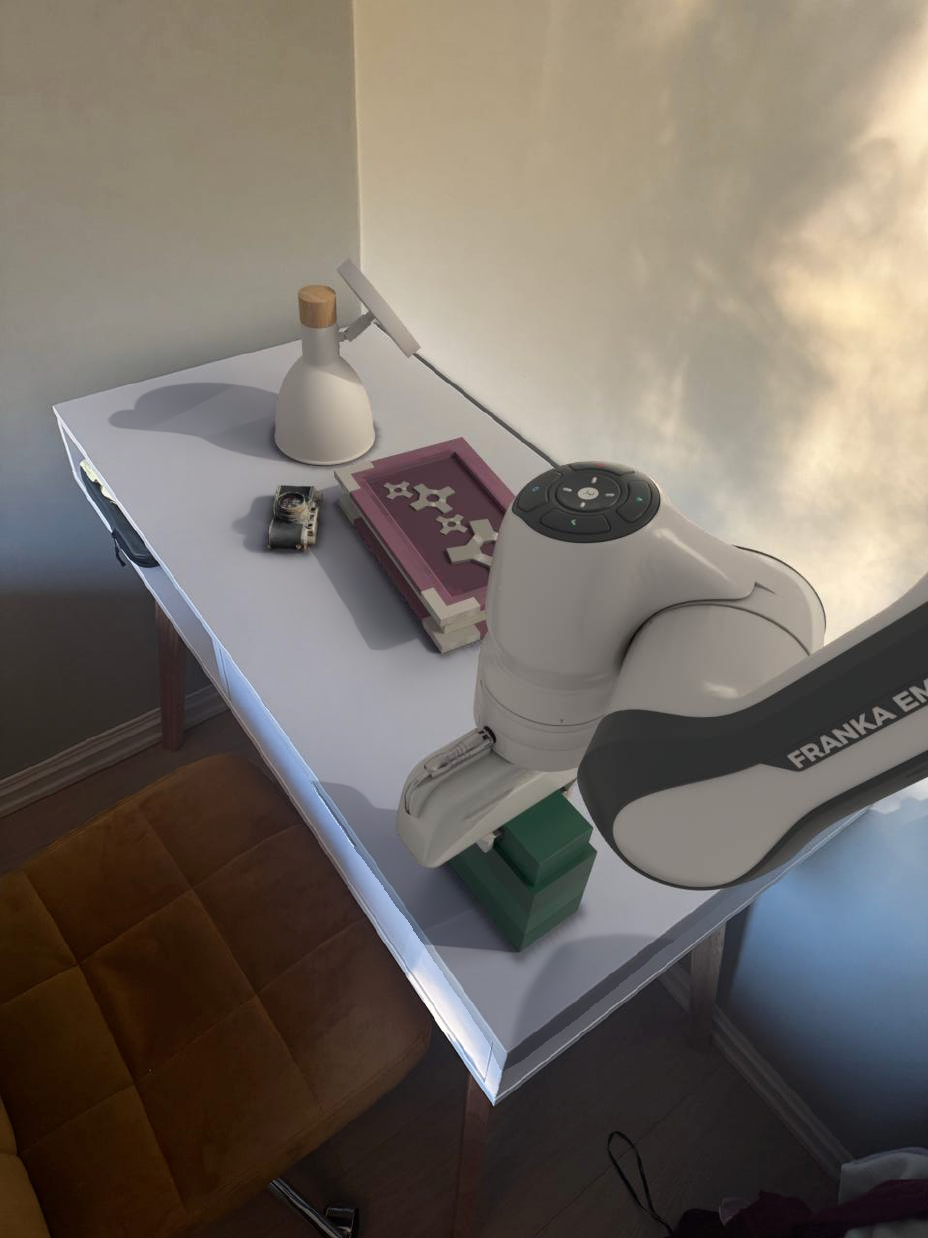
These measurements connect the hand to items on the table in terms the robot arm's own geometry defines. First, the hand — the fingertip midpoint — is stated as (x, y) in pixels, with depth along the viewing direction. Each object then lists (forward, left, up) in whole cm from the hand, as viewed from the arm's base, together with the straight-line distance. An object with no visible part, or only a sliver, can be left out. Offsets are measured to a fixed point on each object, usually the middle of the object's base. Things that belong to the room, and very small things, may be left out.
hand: (521, 818), depth 65 cm
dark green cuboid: (0, 0, -1) cm, 1 cm away
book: (+28, -27, -10) cm, 40 cm away
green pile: (0, 0, -10) cm, 10 cm away
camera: (+44, -20, -10) cm, 49 cm away
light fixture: (+52, -36, -10) cm, 64 cm away
